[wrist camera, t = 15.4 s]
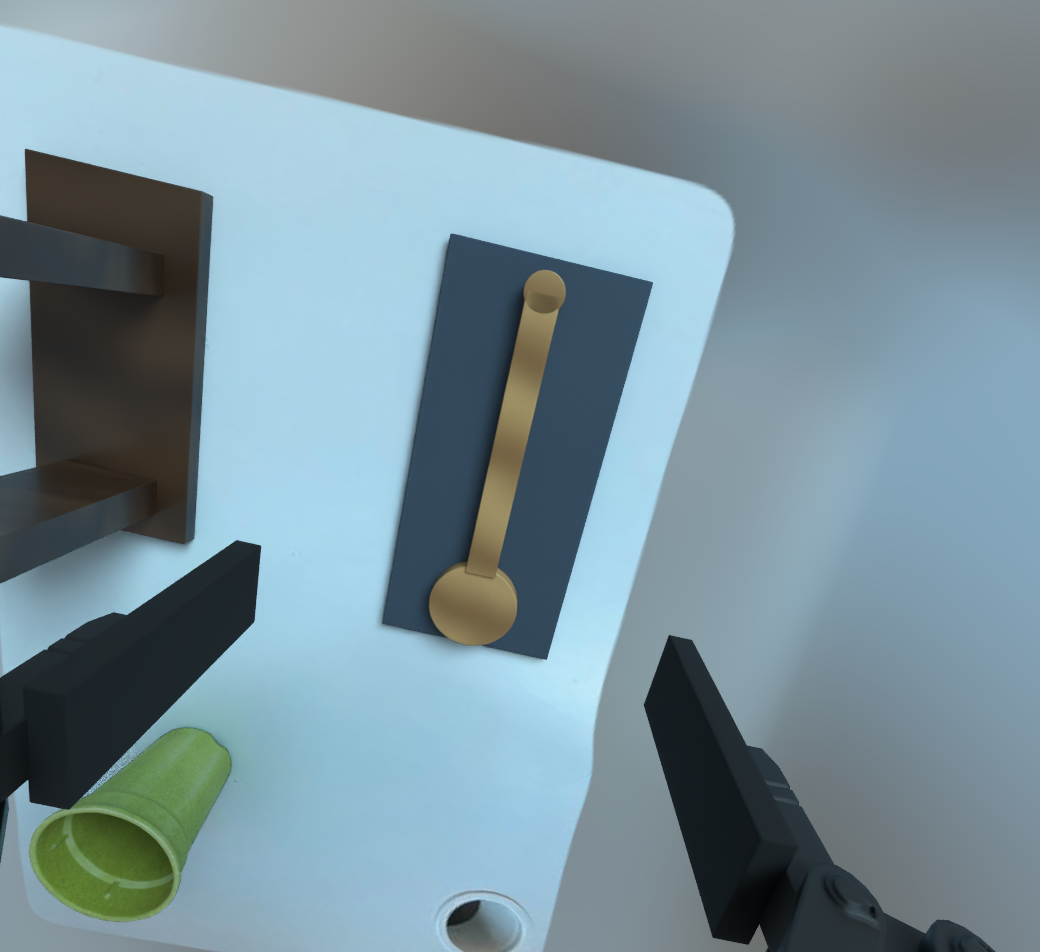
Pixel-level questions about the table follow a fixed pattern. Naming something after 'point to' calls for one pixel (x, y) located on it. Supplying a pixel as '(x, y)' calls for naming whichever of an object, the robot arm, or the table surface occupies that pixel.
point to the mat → (473, 422)
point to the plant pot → (132, 830)
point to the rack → (107, 358)
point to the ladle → (500, 483)
